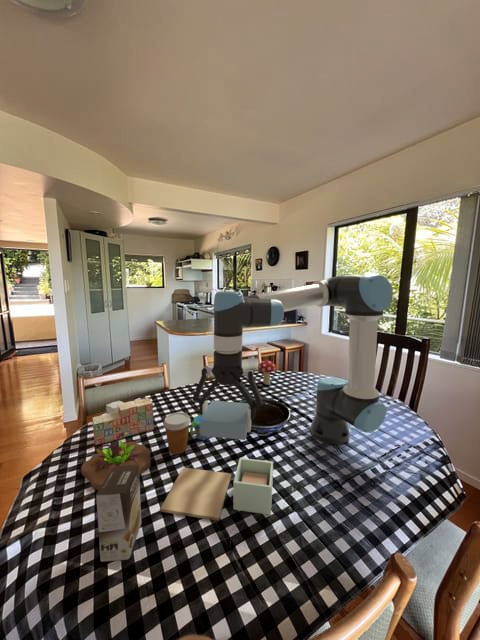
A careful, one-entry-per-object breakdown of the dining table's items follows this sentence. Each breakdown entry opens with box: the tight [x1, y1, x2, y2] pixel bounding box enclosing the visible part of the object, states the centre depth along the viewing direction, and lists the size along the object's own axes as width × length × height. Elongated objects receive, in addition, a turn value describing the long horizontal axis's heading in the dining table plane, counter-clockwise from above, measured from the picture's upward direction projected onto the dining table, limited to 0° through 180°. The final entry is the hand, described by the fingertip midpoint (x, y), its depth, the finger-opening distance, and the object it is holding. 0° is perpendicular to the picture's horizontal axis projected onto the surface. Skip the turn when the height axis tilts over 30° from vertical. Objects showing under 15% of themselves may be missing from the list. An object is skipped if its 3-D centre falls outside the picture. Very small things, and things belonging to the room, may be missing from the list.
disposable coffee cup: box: [163, 412, 191, 455], centre depth 95 cm, size 10×10×12 cm
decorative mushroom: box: [257, 359, 277, 386], centre depth 157 cm, size 11×11×15 cm
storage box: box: [232, 457, 274, 516], centre depth 74 cm, size 10×10×8 cm
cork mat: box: [159, 467, 232, 521], centre depth 76 cm, size 16×16×1 cm
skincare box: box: [105, 400, 125, 414], centre depth 116 cm, size 6×6×7 cm
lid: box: [200, 400, 249, 441], centre depth 72 cm, size 12×12×4 cm
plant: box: [80, 432, 152, 491], centre depth 86 cm, size 20×20×11 cm
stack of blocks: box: [92, 397, 155, 446], centre depth 104 cm, size 21×6×12 cm, turn 123°
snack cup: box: [189, 414, 211, 441], centre depth 103 cm, size 11×8×7 cm
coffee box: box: [95, 465, 142, 562], centre depth 60 cm, size 9×6×16 cm
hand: (227, 427), depth 72 cm, fingers closed on lid, 12 cm apart
